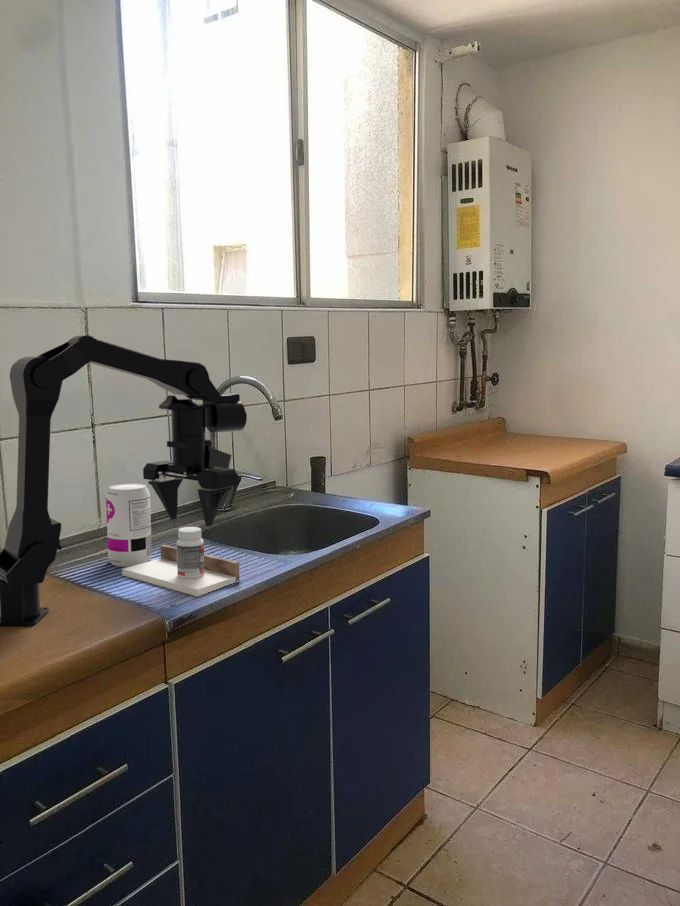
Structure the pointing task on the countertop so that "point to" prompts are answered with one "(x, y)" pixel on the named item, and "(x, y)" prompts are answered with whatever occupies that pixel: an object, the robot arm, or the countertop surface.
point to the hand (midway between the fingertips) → (191, 522)
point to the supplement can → (128, 524)
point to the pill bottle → (190, 553)
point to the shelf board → (165, 575)
